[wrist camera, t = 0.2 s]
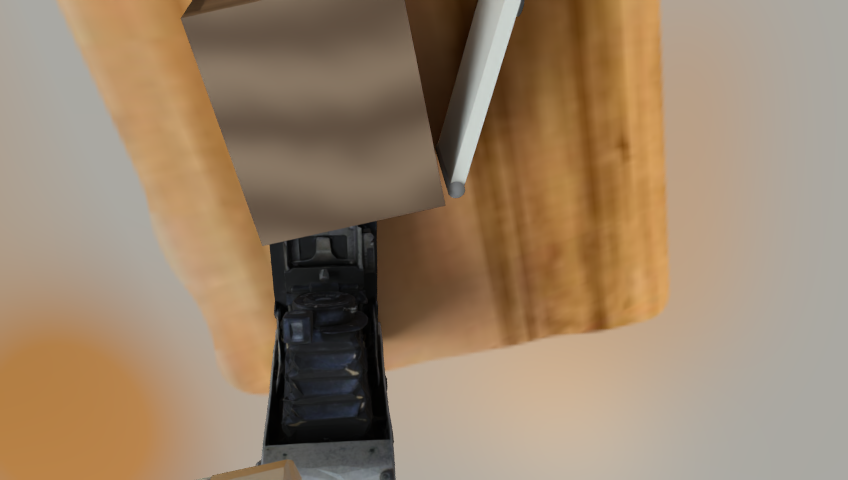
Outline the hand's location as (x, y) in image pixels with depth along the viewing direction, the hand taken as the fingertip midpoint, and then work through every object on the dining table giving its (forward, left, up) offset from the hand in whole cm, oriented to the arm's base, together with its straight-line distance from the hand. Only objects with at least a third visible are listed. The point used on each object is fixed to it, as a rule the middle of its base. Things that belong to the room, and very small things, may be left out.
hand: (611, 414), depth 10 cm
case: (+10, -7, -47) cm, 49 cm away
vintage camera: (+27, -11, -47) cm, 56 cm away
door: (+12, +4, -47) cm, 49 cm away
